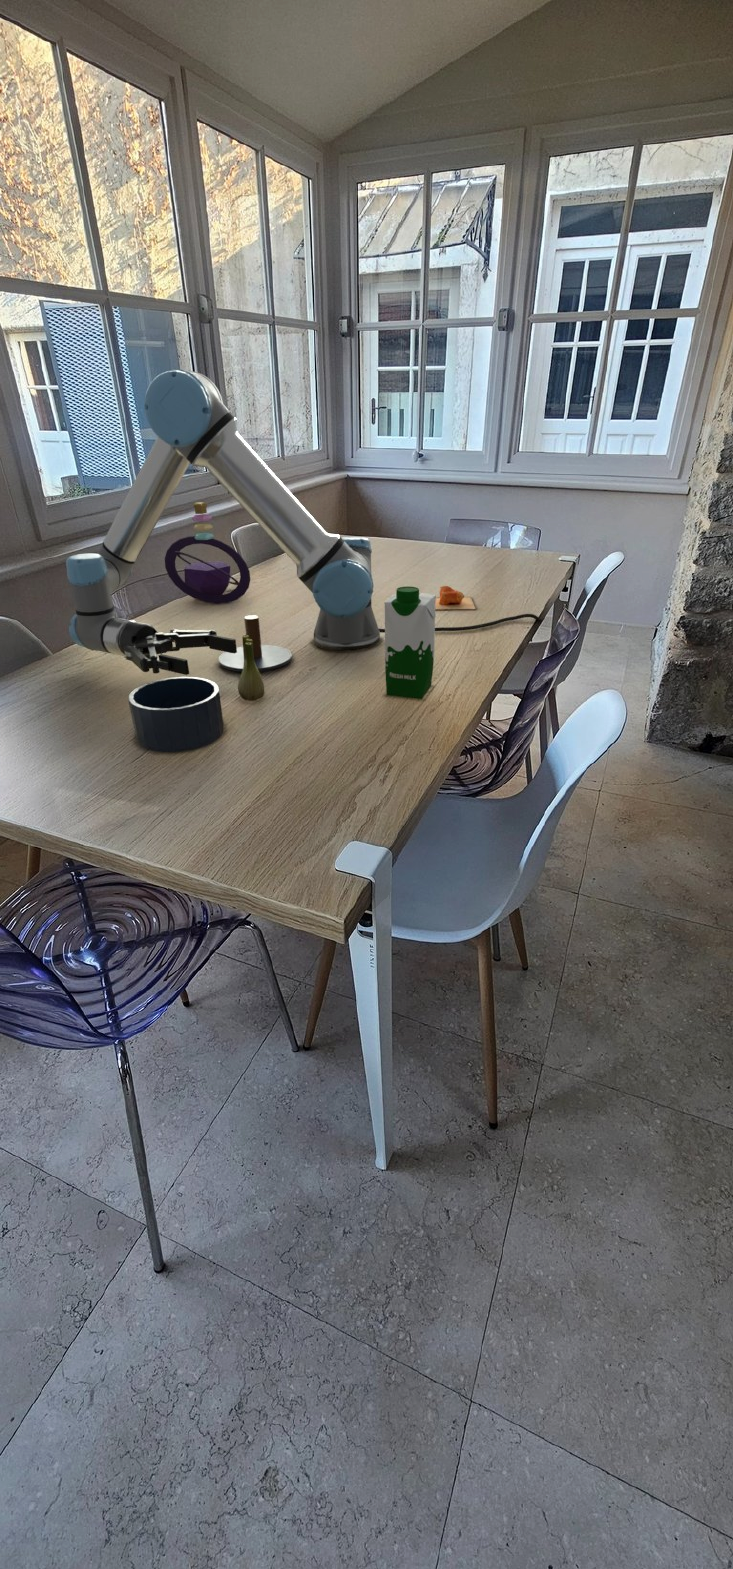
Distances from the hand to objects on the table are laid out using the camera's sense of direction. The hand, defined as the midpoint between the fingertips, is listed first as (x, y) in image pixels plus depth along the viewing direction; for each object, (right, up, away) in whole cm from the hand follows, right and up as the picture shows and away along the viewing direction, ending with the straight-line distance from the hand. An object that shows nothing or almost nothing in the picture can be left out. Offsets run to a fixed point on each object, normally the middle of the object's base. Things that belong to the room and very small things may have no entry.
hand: (212, 656), depth 133 cm
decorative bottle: (-15, +29, +66) cm, 74 cm away
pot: (-2, -16, -13) cm, 21 cm away
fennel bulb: (+8, -8, 0) cm, 11 cm away
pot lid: (+5, +3, +17) cm, 19 cm away
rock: (+52, +24, +56) cm, 80 cm away
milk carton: (+38, -7, +2) cm, 38 cm away
